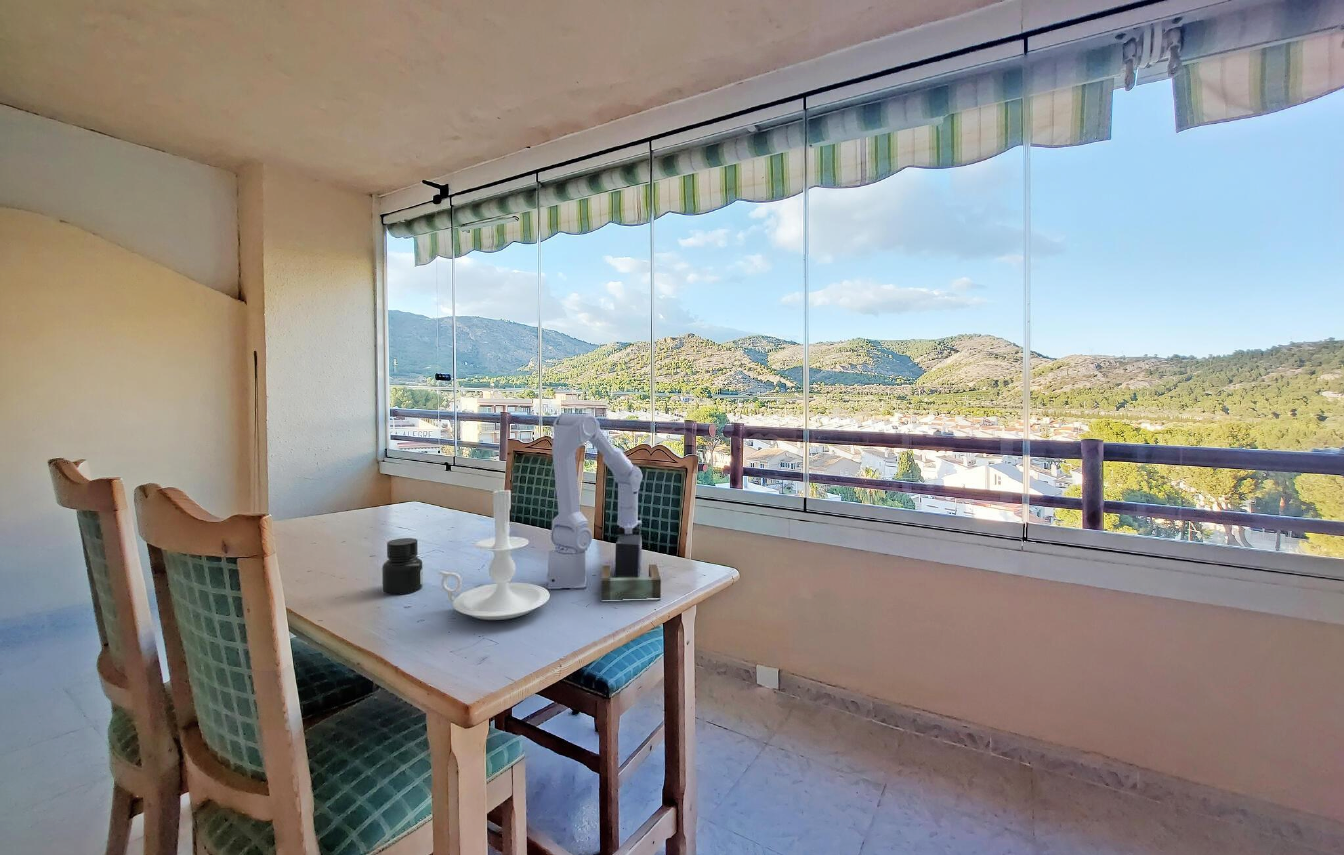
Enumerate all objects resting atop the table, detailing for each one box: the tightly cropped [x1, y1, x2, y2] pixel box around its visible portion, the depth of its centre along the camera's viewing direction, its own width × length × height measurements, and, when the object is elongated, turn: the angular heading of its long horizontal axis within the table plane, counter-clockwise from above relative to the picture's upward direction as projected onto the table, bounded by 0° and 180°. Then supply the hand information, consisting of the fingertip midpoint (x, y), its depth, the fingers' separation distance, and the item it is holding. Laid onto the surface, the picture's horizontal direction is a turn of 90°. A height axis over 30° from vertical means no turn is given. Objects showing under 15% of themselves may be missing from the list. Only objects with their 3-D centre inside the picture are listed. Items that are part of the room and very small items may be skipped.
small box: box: [614, 534, 643, 578], centre depth 148 cm, size 11×6×10 cm, turn 179°
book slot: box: [601, 564, 662, 601], centre depth 136 cm, size 14×12×5 cm
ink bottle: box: [381, 537, 424, 595], centre depth 136 cm, size 10×9×12 cm
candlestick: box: [438, 487, 550, 621], centre depth 122 cm, size 21×25×28 cm
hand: (627, 552), depth 159 cm, fingers closed
